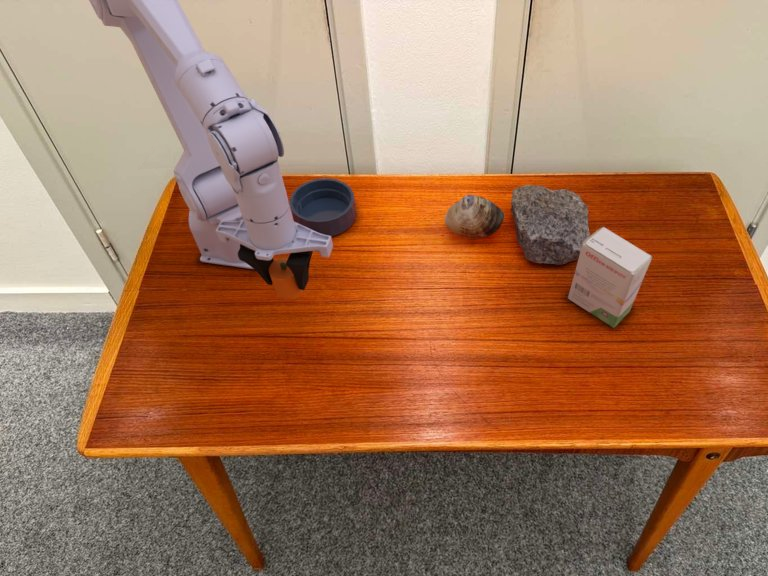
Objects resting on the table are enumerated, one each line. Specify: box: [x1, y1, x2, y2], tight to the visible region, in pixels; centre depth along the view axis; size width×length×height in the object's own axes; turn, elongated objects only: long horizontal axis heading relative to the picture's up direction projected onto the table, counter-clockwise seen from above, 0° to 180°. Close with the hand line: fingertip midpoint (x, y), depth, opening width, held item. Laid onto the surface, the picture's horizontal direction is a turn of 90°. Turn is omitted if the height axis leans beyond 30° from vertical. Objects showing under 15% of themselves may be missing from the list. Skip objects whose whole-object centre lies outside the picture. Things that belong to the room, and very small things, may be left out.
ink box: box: [567, 226, 653, 329], centre depth 90 cm, size 9×5×12 cm, turn 47°
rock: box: [510, 184, 591, 266], centre depth 101 cm, size 13×6×15 cm
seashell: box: [444, 194, 505, 240], centre depth 100 cm, size 10×6×8 cm, turn 87°
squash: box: [269, 256, 305, 301], centre depth 85 cm, size 4×4×5 cm
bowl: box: [289, 177, 358, 238], centre depth 104 cm, size 10×10×4 cm
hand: (287, 281), depth 86 cm, fingers closed on squash, 4 cm apart
